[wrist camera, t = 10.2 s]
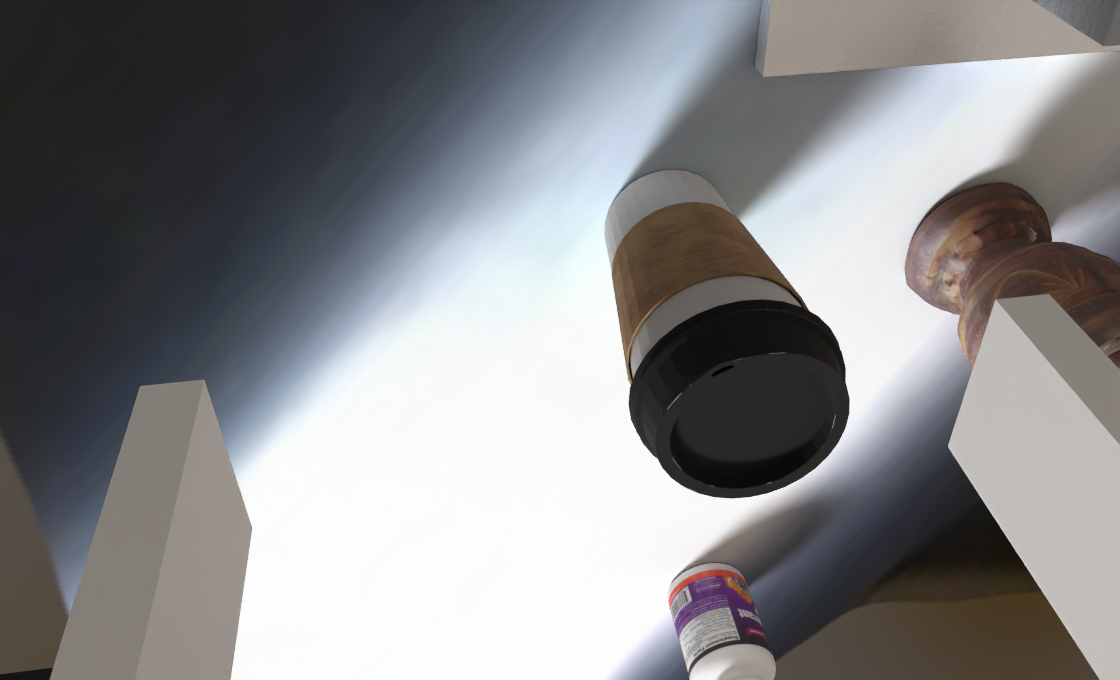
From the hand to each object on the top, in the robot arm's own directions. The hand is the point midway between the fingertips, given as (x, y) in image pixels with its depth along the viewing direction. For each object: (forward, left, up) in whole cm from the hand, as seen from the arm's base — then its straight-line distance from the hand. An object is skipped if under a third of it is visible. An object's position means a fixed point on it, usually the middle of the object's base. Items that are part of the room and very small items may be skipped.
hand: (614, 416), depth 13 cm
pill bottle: (+45, +13, -30) cm, 55 cm away
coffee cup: (+16, +8, -30) cm, 35 cm away
